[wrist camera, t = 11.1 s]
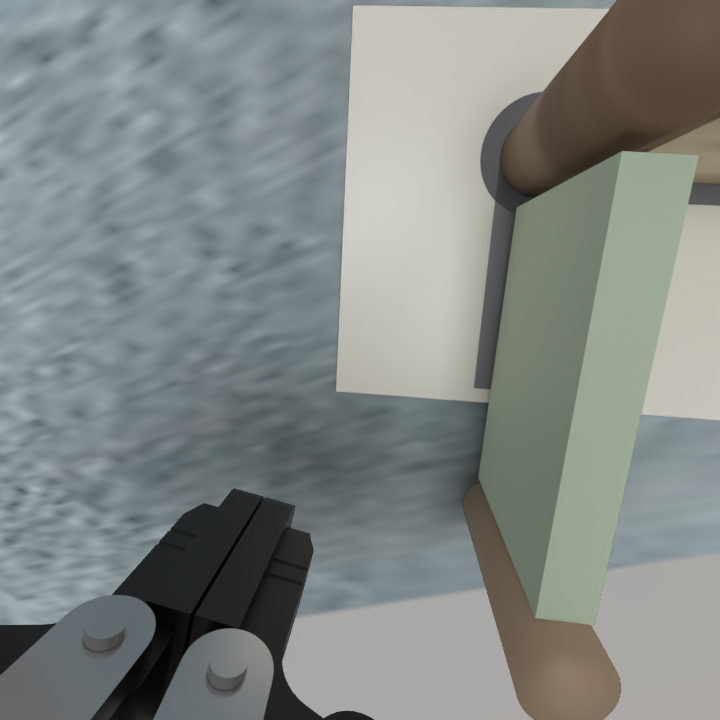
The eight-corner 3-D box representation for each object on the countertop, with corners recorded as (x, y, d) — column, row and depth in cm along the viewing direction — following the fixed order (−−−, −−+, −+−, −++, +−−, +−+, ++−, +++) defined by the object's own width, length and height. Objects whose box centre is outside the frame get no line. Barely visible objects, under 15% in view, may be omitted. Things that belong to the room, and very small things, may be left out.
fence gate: (503, 206, 13) (615, 139, 6) (570, 211, 13) (755, 145, 6) (459, 527, 15) (509, 722, 9) (516, 533, 15) (609, 736, 9)
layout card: (921, 19, 12) (937, 11, 12) (805, 424, 14) (815, 427, 14) (354, 11, 13) (352, 4, 13) (337, 389, 15) (335, 391, 15)
